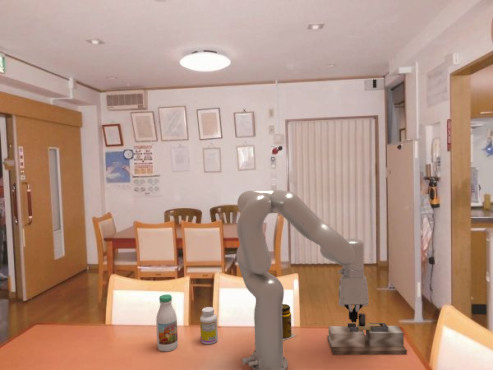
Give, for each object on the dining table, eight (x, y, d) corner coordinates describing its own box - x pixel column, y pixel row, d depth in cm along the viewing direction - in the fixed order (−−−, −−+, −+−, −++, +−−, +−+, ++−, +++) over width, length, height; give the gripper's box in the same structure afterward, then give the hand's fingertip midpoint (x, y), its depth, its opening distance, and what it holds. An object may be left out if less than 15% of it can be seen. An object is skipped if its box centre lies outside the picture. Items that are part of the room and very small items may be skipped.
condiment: (296, 336, 151) (295, 306, 150) (279, 342, 146) (278, 312, 145) (284, 329, 157) (283, 301, 156) (268, 335, 152) (267, 306, 152)
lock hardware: (350, 332, 139) (349, 327, 139) (347, 327, 143) (347, 323, 143) (388, 331, 138) (388, 327, 138) (384, 326, 142) (384, 322, 142)
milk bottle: (153, 349, 143) (150, 298, 142) (166, 340, 150) (164, 291, 149) (169, 353, 140) (166, 301, 138) (182, 344, 146) (179, 294, 145)
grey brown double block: (333, 354, 135) (332, 337, 135) (327, 339, 147) (327, 322, 147) (406, 354, 134) (406, 336, 134) (395, 338, 146) (394, 322, 146)
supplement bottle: (205, 336, 153) (204, 305, 152) (220, 338, 151) (219, 306, 150) (197, 343, 147) (196, 311, 146) (213, 346, 145) (212, 313, 144)
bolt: (358, 330, 139) (358, 315, 139) (357, 327, 142) (357, 313, 141) (380, 330, 139) (380, 315, 139) (378, 327, 141) (378, 313, 141)
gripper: (334, 275, 136) (335, 325, 137) (376, 275, 135) (376, 325, 136) (330, 269, 143) (331, 317, 144) (370, 269, 143) (370, 316, 144)
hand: (353, 320), depth 140 cm, fingers closed
